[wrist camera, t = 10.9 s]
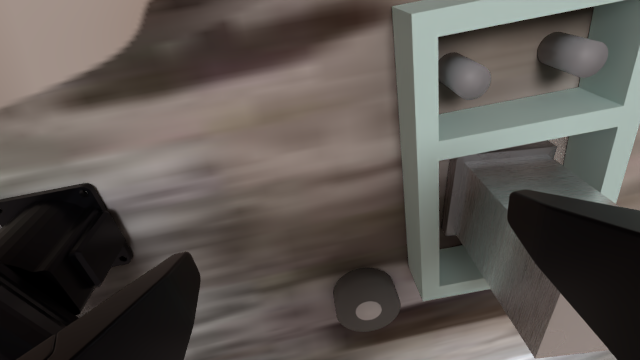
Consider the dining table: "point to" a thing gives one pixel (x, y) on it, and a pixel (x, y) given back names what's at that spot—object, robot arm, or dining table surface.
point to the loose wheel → (366, 300)
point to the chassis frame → (507, 112)
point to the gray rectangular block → (517, 241)
